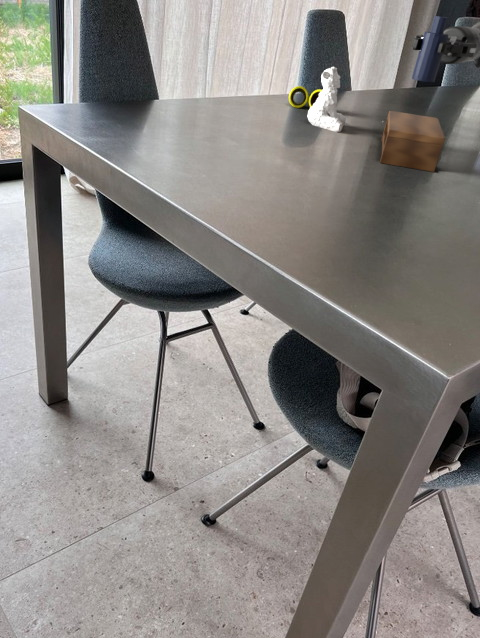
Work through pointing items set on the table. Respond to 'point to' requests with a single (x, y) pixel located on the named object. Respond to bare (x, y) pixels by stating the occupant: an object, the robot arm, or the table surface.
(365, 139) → the table surface
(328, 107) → the seated beast figurine
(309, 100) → the opera glasses
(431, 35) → the bottle
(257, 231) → the table surface
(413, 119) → the wooden block
